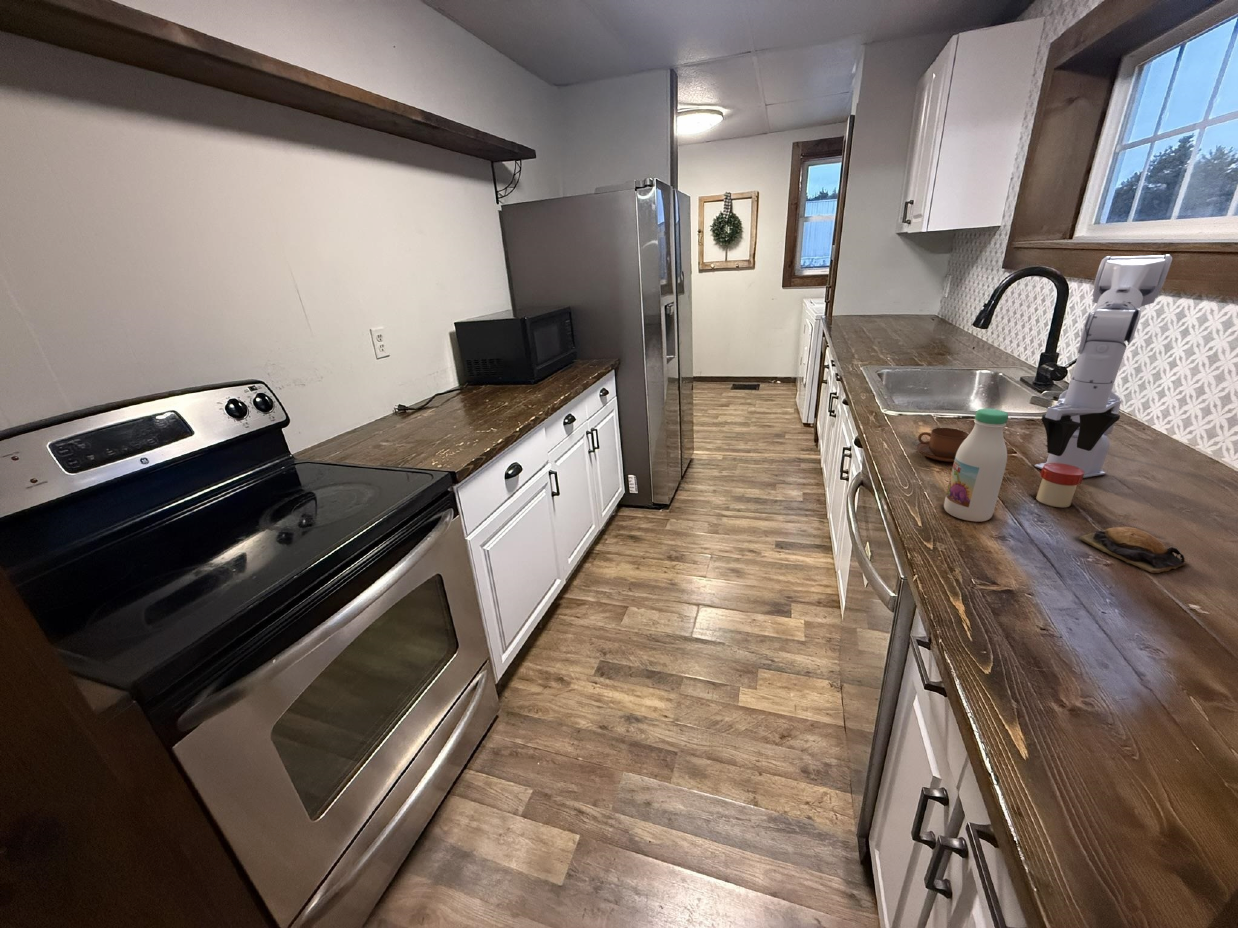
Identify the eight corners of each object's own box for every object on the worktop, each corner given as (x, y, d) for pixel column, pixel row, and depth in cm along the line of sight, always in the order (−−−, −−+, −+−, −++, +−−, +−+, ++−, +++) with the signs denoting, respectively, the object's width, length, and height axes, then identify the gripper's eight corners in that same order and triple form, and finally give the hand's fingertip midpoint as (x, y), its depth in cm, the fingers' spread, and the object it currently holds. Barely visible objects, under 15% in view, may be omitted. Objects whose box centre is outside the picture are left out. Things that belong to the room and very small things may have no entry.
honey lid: (1056, 470, 98) (1059, 461, 97) (1089, 483, 93) (1093, 472, 92) (1032, 474, 97) (1035, 464, 96) (1064, 487, 92) (1067, 477, 91)
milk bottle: (984, 505, 96) (1011, 406, 89) (997, 525, 90) (1027, 419, 82) (938, 501, 99) (960, 404, 91) (948, 519, 92) (973, 416, 84)
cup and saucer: (919, 463, 116) (924, 438, 114) (912, 446, 126) (917, 423, 124) (980, 469, 112) (986, 443, 110) (968, 450, 122) (974, 426, 120)
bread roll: (1074, 540, 84) (1080, 521, 83) (1111, 531, 86) (1118, 513, 85) (1151, 575, 74) (1159, 554, 73) (1191, 564, 76) (1200, 544, 75)
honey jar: (1050, 493, 100) (1059, 464, 97) (1077, 505, 95) (1088, 474, 92) (1029, 497, 99) (1038, 467, 96) (1055, 509, 94) (1066, 478, 91)
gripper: (1097, 371, 93) (1075, 439, 98) (1037, 379, 90) (1017, 449, 95) (1143, 379, 86) (1116, 451, 92) (1080, 388, 83) (1056, 462, 88)
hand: (1069, 451), depth 93 cm, fingers open, 7 cm apart
